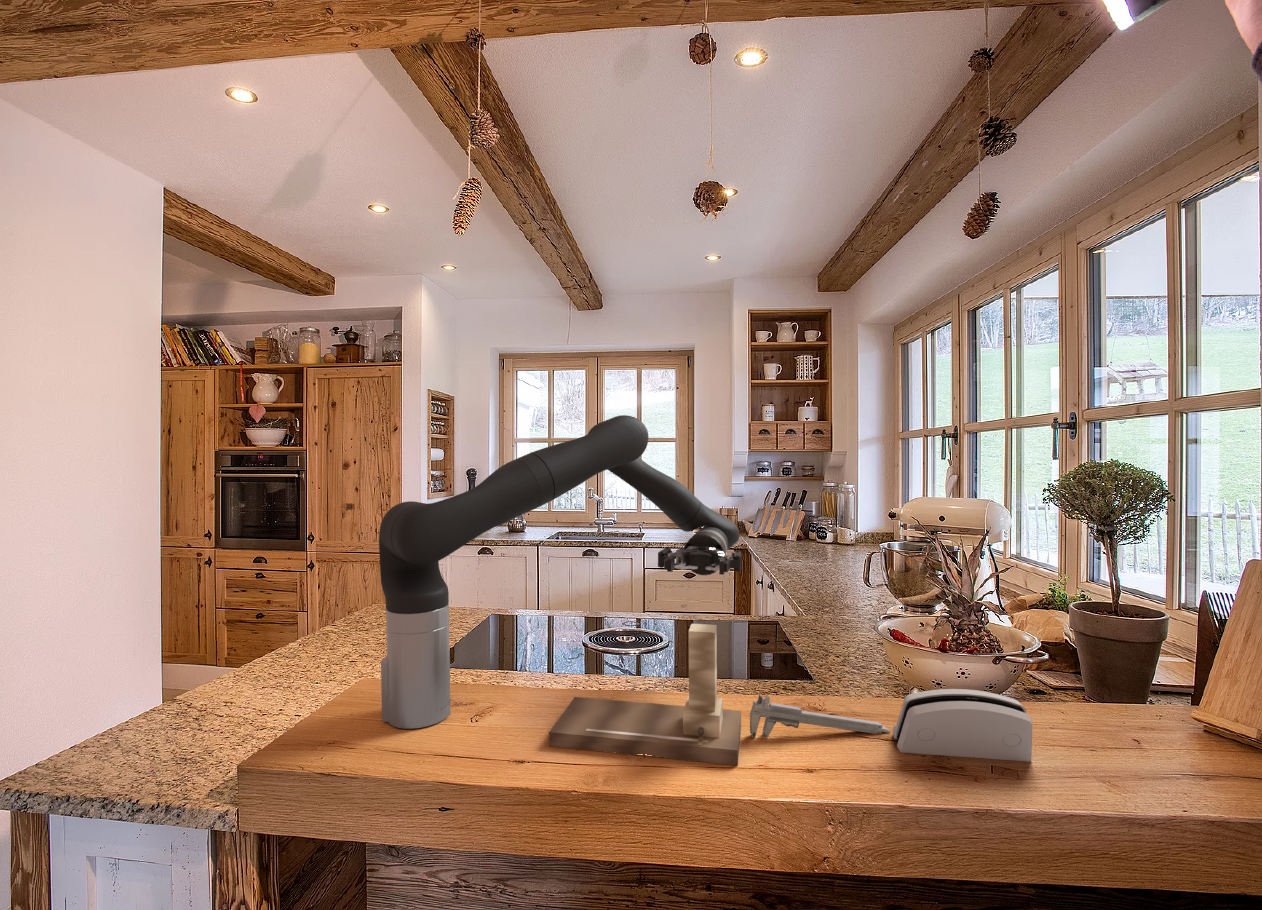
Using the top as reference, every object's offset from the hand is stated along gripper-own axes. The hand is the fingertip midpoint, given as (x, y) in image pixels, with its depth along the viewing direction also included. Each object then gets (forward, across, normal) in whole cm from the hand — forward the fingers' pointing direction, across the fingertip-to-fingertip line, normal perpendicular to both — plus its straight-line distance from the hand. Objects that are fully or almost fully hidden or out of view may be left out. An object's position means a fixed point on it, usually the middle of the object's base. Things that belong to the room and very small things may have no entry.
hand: (695, 566), depth 100 cm
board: (+13, -5, +22) cm, 26 cm away
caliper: (+7, +19, +22) cm, 30 cm away
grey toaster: (+9, +38, +22) cm, 44 cm away
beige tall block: (+13, +3, +20) cm, 24 cm away
